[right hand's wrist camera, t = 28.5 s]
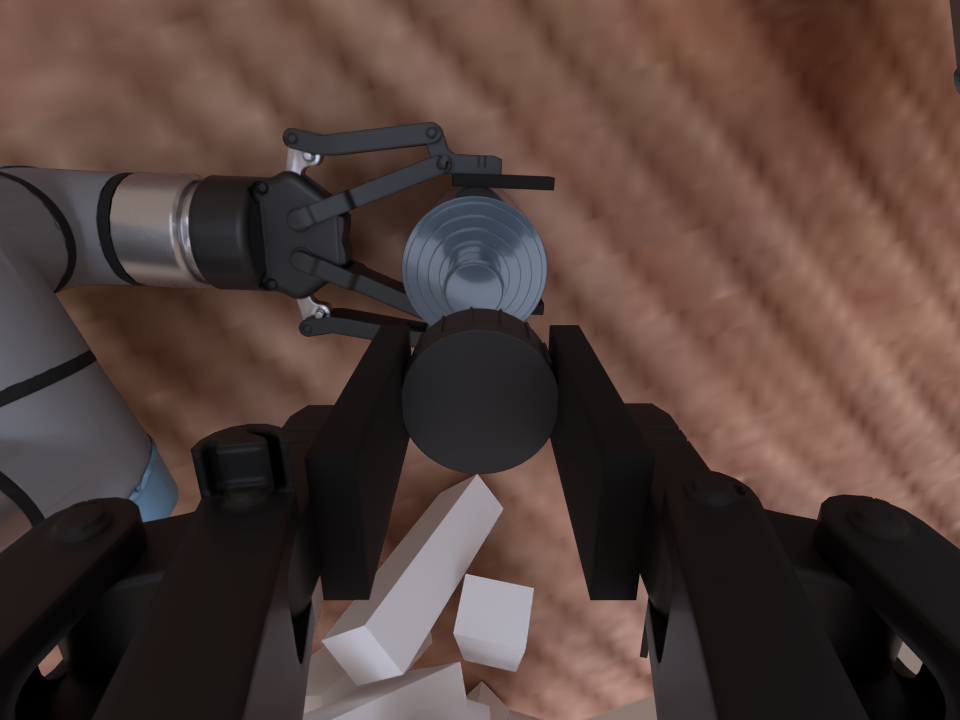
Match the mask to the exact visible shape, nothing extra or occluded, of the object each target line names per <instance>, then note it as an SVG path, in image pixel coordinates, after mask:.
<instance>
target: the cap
mask: <svg viewBox="0 0 960 720" xmlns="http://www.w3.org/2000/svg"><path fill="white" fill-rule="evenodd" d="M551 364H553V363H552V360H551V357H550V354H549V352H548V349H547V346H546V344H545V343H542V341H541V340H540V338H539V337H538V336H537V334H536V333H535V332H534V331H533V330H532V329H531V328H530V327H529V323H528V322H525V323H524V322H523V321H521V320H520V319H518V318H516V317H515V316H512V315H510V314H508V313H505V312H503V310H502V309H499V311H498V310H494V309H487V308H474V309H473V307H470V309H466V310H462V311H458V312H455V313H452V314H450V315H447V316H446V317H445V315H443V316H442V317H441V319H440V320H439V321H437V322H436V323H435V324H433V325H432V326H431V327H430V328H429V329H428V330H427V331H426V332H425V333H424V334H423V333H421V334H420V337H419V340H418V343H417V345H416V347H415V349H414V351H413V354H412V357H410V359H409V362H408V365H407V368H406V371H405V374H404V377H403V379H404V380H403V384H402V388H401V392H402V410H403V422H404V425H405V428H406V430H407V432H408V434H409V436H410V437H411V439H412V440H413V442H414V443H415V444H416V446H417V447H418V448H419V449H420V450H421V451H422V452H423V453H424V454H425V455H427V456H428V457H429V458H431V459H432V460H434V461H435V462H436V463H438V464H440V465H442V466H444V467H447V468H449V469H452V470H455V471H459V472H463V473H470V474H490V473H496V472H501V471H505V470H508V469H511V468H513V467H515V466H518V465H520V464H522V463H523V462H525V461H526V460H528V459H530V458H531V457H532V456H533V455H535V454H536V453H537V452H538V451H539V450H540V449H541V448H542V447H543V446H544V444H545V443H546V442H547V440H548V439H549V437H550V436H551V434H552V432H553V430H554V428H555V425H556V421H557V404H558V383H557V380H556V378H555V374H554V372H553V369H552V366H551Z"/></svg>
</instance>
